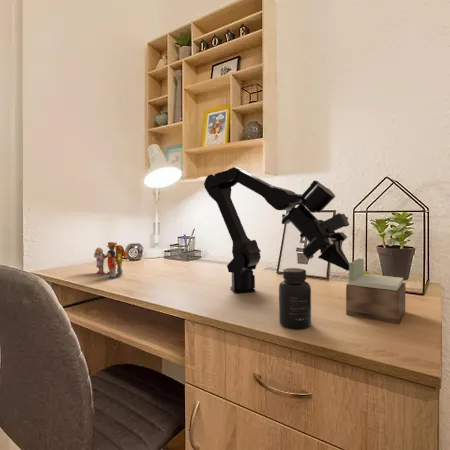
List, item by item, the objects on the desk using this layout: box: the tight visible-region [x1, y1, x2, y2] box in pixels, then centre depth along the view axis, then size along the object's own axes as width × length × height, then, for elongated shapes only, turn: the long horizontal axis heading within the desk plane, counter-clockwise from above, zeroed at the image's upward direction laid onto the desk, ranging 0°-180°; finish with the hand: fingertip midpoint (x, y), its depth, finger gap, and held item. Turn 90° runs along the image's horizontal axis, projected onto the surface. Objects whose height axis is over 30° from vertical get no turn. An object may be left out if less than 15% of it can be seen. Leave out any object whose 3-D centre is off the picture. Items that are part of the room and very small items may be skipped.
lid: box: [348, 258, 404, 291], centre depth 72 cm, size 10×10×5 cm
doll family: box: [93, 241, 130, 280], centre depth 124 cm, size 21×10×13 cm, turn 42°
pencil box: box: [345, 282, 406, 325], centre depth 72 cm, size 11×10×7 cm
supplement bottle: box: [278, 267, 312, 330], centre depth 66 cm, size 7×7×12 cm
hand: (350, 269), depth 76 cm, fingers closed
